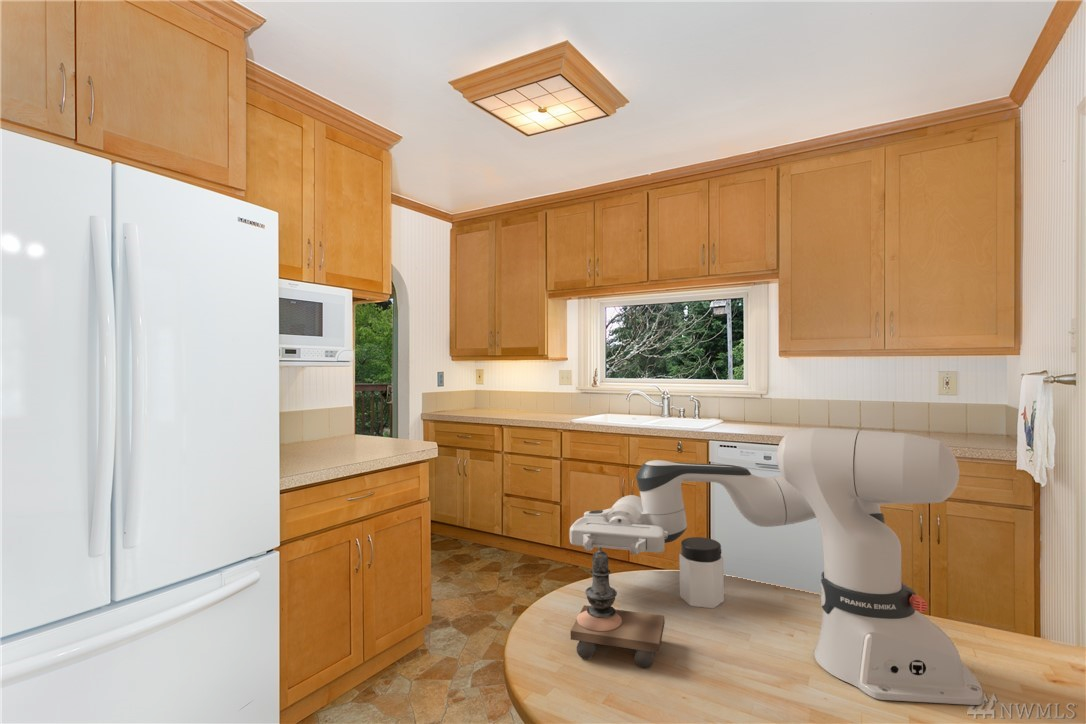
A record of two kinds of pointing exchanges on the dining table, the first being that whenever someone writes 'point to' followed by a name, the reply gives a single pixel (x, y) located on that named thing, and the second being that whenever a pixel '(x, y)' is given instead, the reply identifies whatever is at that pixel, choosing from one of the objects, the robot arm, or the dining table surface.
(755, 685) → the dining table surface
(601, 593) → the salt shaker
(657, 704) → the dining table surface
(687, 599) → the jar
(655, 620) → the roller slab
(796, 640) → the dining table surface
